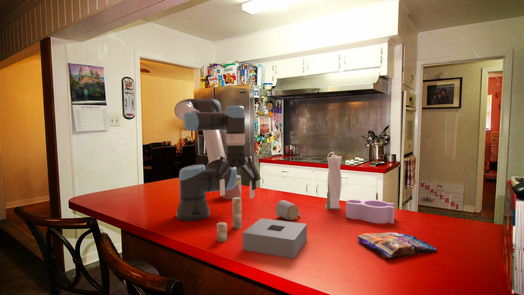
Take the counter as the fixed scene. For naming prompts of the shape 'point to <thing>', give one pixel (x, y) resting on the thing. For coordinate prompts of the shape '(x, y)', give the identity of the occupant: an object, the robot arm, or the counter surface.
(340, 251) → the counter surface
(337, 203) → the skyscraper
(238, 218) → the long pin
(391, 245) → the food package
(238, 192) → the canned food
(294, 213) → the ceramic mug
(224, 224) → the short pin
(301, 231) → the hole block
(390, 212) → the clip
